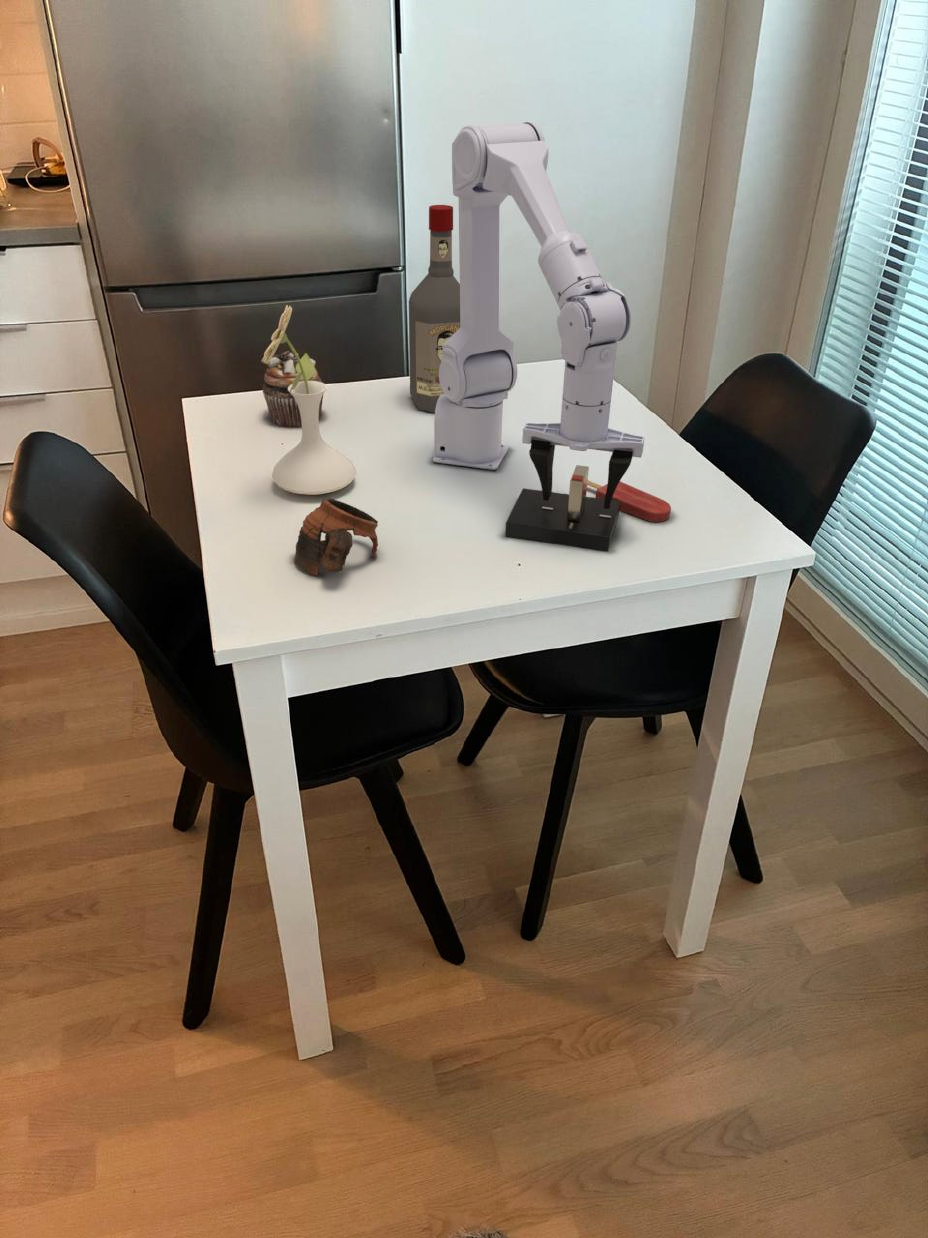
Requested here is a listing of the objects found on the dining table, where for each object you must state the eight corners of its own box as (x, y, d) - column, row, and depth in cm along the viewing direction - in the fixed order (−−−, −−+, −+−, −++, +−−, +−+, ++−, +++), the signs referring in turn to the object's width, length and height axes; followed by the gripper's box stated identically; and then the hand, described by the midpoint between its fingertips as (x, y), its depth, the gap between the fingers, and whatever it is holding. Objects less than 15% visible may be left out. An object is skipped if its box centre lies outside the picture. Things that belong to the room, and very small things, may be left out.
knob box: (505, 536, 119) (505, 521, 118) (522, 501, 127) (522, 486, 126) (608, 551, 116) (610, 535, 115) (618, 514, 124) (620, 499, 123)
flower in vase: (297, 461, 137) (281, 282, 123) (370, 473, 133) (362, 292, 119) (251, 499, 126) (227, 310, 112) (328, 514, 123) (314, 321, 109)
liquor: (407, 394, 159) (404, 201, 142) (460, 390, 161) (463, 200, 144) (418, 414, 152) (416, 214, 135) (474, 410, 154) (478, 212, 137)
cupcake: (252, 420, 149) (244, 357, 143) (292, 401, 156) (287, 340, 150) (299, 434, 145) (294, 370, 139) (339, 413, 151) (335, 352, 146)
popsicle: (586, 467, 132) (678, 503, 124) (584, 478, 133) (676, 515, 125) (566, 477, 129) (659, 515, 121) (565, 488, 130) (657, 527, 122)
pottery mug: (286, 549, 117) (311, 487, 115) (357, 575, 120) (383, 516, 118) (290, 576, 106) (318, 508, 104) (368, 605, 109) (397, 539, 107)
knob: (572, 503, 122) (576, 462, 119) (585, 505, 122) (589, 464, 119) (566, 520, 119) (570, 478, 115) (579, 521, 118) (583, 479, 115)
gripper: (519, 402, 110) (514, 507, 118) (644, 417, 107) (631, 523, 115) (531, 382, 116) (525, 483, 123) (651, 395, 113) (637, 498, 120)
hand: (577, 501), depth 119 cm, fingers open, 7 cm apart
